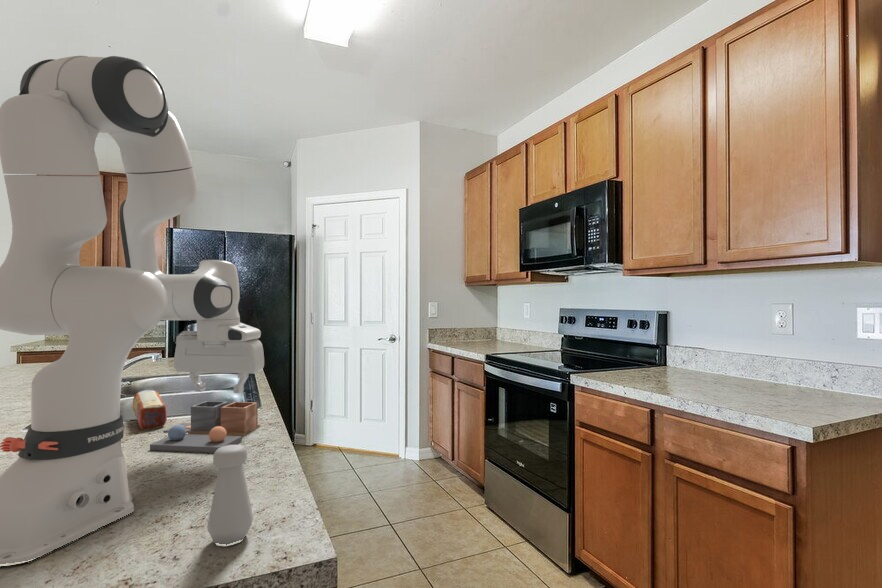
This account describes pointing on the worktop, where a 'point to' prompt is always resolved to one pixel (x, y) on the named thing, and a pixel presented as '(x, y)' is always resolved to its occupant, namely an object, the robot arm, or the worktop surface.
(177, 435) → the ball blue
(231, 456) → the salt shaker
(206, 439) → the grey flat slab
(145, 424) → the snack package
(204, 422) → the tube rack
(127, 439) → the worktop surface
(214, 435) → the ball terracotta
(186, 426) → the card
